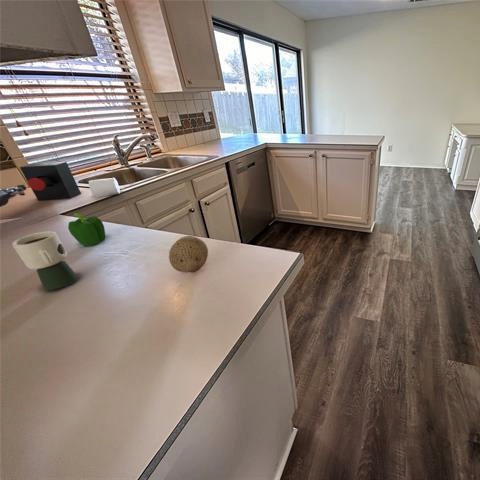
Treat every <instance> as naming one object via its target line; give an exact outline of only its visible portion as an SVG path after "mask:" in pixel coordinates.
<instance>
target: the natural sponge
mask: <svg viewBox="0 0 480 480" xmlns="http://www.w3.org/2000/svg"><path fill="white" fill-rule="evenodd" d="M168 254H169V255H168V260H169V263H170V265H171V267H172V268H173V269H174V270H175V271H177V272H181V273H191V274H192V273H193V274H194V273H197V272H198V271H200V270H201V269H202V268H203V267H204V266H205V264H206V262H207V260H208V255H209V249H208V246H207V244H206V243H205V242H204V241H203V240H202V239H201V238H198V237H197V236H192V235H185V236H182V237H180V238H179V239H177V240H176V241H175V242H174V243H173V244H172V245H171V247H170V249H169V251H168Z"/></svg>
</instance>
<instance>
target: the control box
mask: <svg viewBox="0 0 480 480" xmlns="http://www.w3.org/2000/svg"><path fill="white" fill-rule="evenodd" d="M19 169H20V171H21V172H22V174H23V176H24V178H25V180H26V182H27V183H28V181H29V179H32V178H41V177H47V178H49V179H50V180H51V184H50V185H48V186H46V187H45V189H43V190H41V191H36V190H34V189H32V188H31V187H30V188H31V191H32V192H33V194H34V196H35V198H36V200H37V201H38V202H43V201H44V202H45V201H57V200H71V199H74V198H76V197H77V196H80V195H82V192H81V190H80V188H79V185H78V183H77V181H76V179H75V177H74V175H73V173H72V171H71V169H70V166H69V164H68V162H67V161H53V162H52V161H51V162H37V163H35V162H34V163H30V164H26V165H22V166H19Z"/></svg>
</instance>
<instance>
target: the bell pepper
mask: <svg viewBox="0 0 480 480" xmlns="http://www.w3.org/2000/svg"><path fill="white" fill-rule="evenodd" d="M72 216H73V217H78V218H77V219H75V220H71V221H68V226H67V228H68V231H69V233H70V235H71V236H72V237H73V238H74V240H76V241H77V242H78V243H79V244H80V245H83V246H84V247H92V246H96V245H99V244H100V243H101V242H104V241H105V240H106V229H105V226H104V223H103V221H102V220H101V219H100V218H99V217H97V216H96V215H94V216H93V215H92V216H88V217H87V218H86V217H84V216H83V215H82V214H80V213H78V212H76V213H73V214H72Z"/></svg>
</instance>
